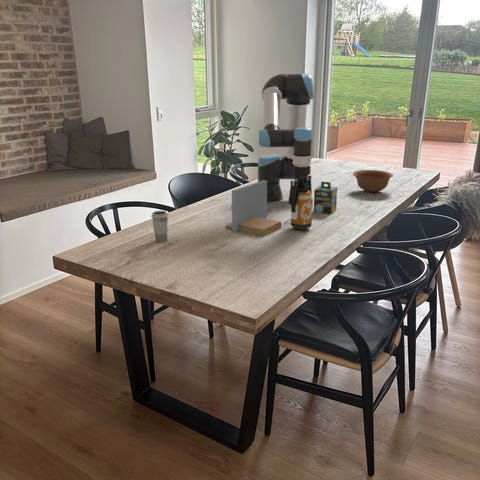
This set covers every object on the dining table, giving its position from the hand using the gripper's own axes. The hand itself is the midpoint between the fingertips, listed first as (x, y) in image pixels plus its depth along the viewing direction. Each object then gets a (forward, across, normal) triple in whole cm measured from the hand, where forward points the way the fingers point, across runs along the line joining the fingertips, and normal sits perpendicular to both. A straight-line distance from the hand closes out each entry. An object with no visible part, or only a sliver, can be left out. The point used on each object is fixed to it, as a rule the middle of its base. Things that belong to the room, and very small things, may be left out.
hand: (299, 216), depth 214 cm
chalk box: (+6, +32, +4) cm, 33 cm away
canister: (+5, 0, 0) cm, 5 cm away
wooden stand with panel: (+6, -8, +17) cm, 20 cm away
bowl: (+7, +81, 0) cm, 81 cm away
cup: (+6, -47, +38) cm, 61 cm away
